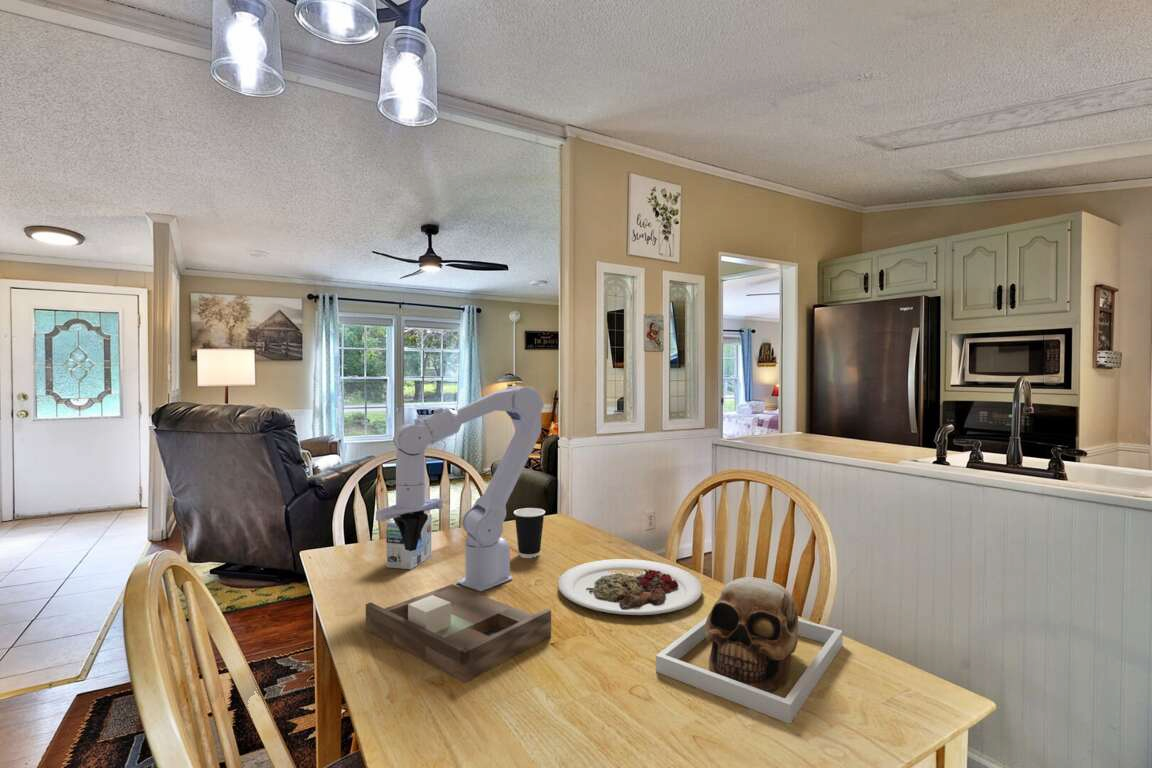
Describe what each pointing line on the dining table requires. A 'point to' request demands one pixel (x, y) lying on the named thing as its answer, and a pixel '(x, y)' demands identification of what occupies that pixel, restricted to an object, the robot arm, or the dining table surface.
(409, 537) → the robot arm
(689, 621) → the dining table surface
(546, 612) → the brown wooden tray
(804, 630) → the tray
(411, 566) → the light bulb box
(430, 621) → the cream block
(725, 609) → the brown skull figurine
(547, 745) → the dining table surface
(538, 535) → the dixie cup
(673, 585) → the plated food
